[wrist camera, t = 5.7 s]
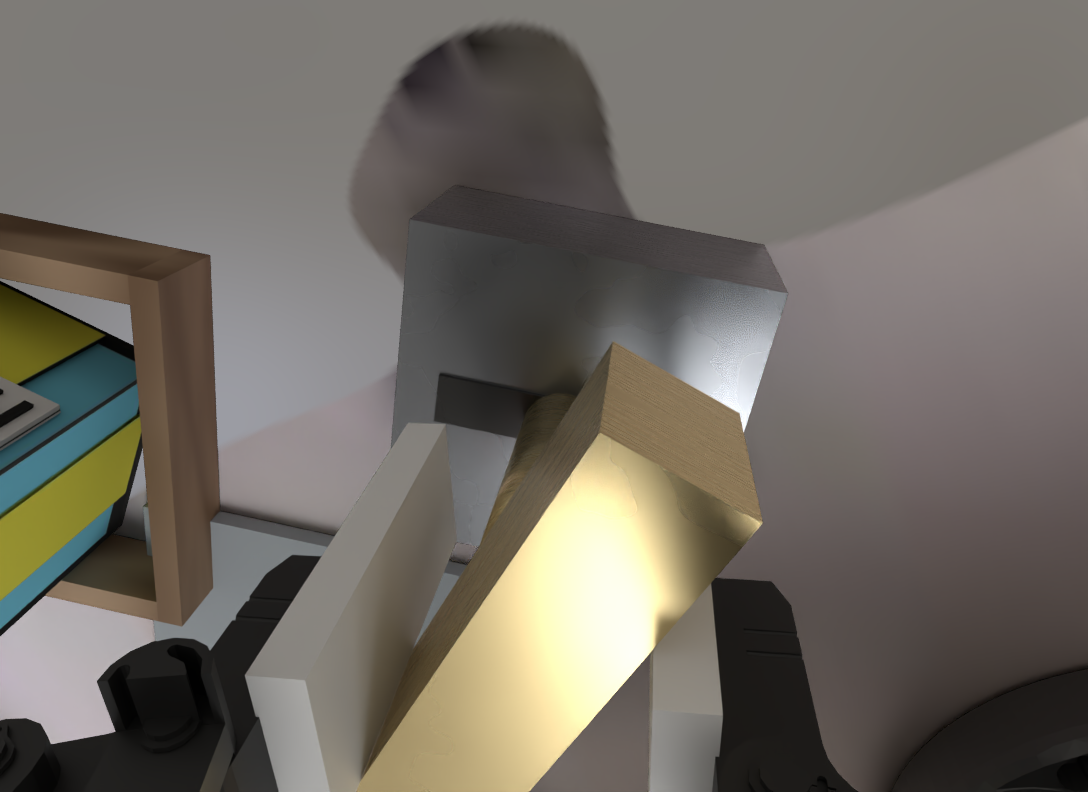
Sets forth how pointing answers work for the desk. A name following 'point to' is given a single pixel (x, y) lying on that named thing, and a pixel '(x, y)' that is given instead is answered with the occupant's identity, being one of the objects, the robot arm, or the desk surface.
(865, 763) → the desk surface
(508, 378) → the block
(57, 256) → the frame
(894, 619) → the desk surface
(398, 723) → the key
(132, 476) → the carton
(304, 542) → the mat
